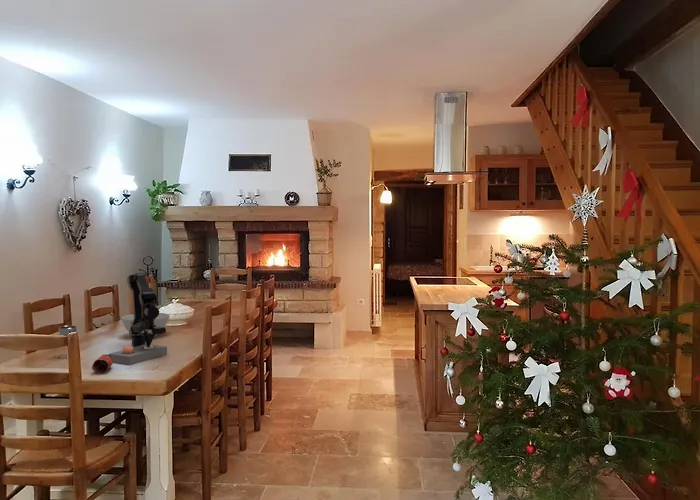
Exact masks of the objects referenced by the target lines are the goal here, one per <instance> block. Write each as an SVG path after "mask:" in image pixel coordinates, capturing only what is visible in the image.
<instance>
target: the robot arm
mask: <svg viewBox="0 0 700 500" xmlns="http://www.w3.org/2000/svg"><path fill="white" fill-rule="evenodd" d="M126 283H127V284H128V288H129V290H130V291H131V292H132V293H131V294H132V295H131V297H132V307H133V308H132V309H133V314H134V319H133V321H132V323H131V327H130V330H129V331H128V337H129V338H131V346H133V347H137V346H140V345H144V344H147V346H150V344H151V345H152V342H153V340H154V338H155V337H154V336H155V335H156V334H157V335H161V334H165V333H167V328H166V326H165V327H156V325H154V319H156V317H158V315H159V313H160V309H159V308H158V307H156V305H159V298H158V295H157V293H156V292H155V290H154V289H153V288H152V287H150V285H149V284H148V282H147V279H146V274H145V273H144V272H140V273H139V272H136V273H133V274H129V275H128V276H127V279H126ZM154 327H156V328H154ZM150 329H151V330H150Z"/></svg>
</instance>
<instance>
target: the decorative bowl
mask: <svg viewBox="0 0 700 500" xmlns="http://www.w3.org/2000/svg"><path fill="white" fill-rule="evenodd" d="M170 316H171V315H170V314H168V313H165V312H159V315H158V317H156V319H154V325H156V327H165V328H166V326H167V324H168V323H169V320H170ZM133 319H134V313H133V314H126V315H123V316H122V317H121V322H122V324H123V327H124V328H125V329H126V331H127V332H129V330H130V327H131V323H132V321H133ZM156 327H154V328H156ZM150 330H151V329H150ZM157 336H158V334H156V335H155V336H154V338H156V337H157Z"/></svg>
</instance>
